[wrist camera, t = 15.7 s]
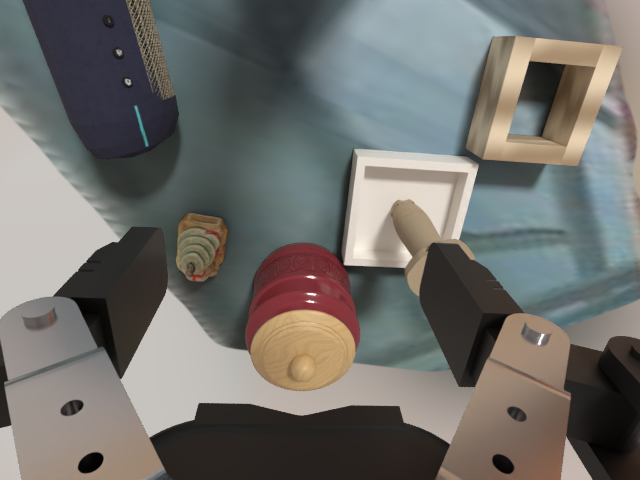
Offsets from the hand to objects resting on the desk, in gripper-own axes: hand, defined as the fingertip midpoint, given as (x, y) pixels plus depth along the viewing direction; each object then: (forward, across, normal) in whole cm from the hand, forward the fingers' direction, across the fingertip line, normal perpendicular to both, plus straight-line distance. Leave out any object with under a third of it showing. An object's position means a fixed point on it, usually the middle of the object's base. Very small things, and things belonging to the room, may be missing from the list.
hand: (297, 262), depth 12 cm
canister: (+36, -2, +24) cm, 44 cm away
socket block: (+36, -26, -2) cm, 45 cm away
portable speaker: (+36, +19, -6) cm, 41 cm away
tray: (+36, -14, +12) cm, 41 cm away
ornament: (+36, +11, +18) cm, 42 cm away
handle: (+35, -14, +12) cm, 40 cm away
